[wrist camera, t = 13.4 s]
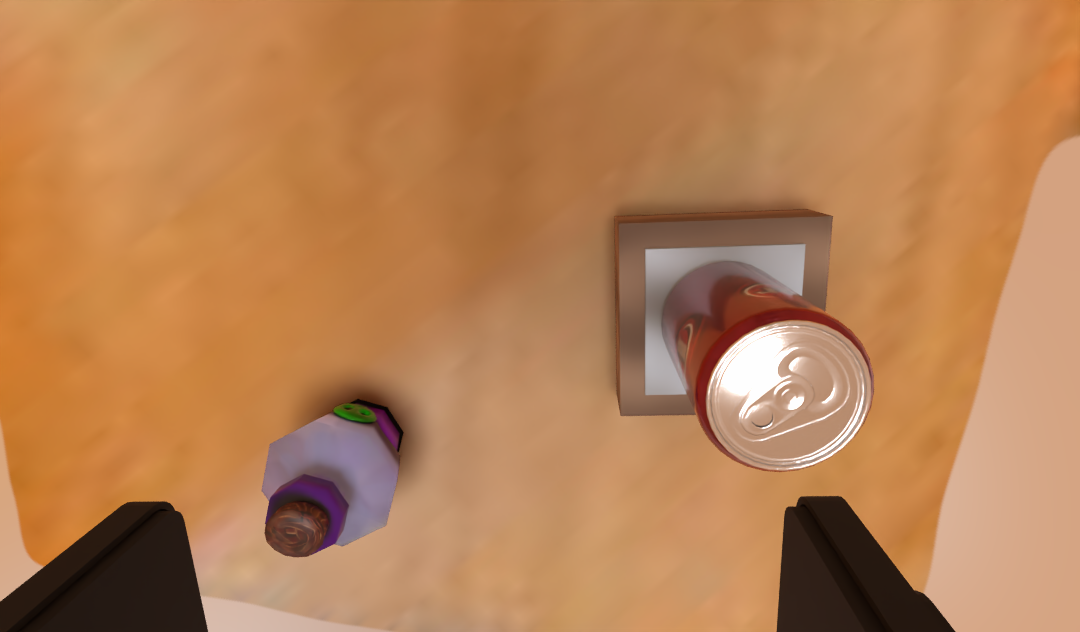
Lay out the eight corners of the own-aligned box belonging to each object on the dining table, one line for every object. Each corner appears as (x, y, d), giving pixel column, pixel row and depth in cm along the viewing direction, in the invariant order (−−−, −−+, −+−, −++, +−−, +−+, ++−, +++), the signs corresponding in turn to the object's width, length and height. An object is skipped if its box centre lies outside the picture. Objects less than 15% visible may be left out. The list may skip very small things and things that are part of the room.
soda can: (741, 233, 36) (820, 275, 24) (808, 332, 37) (915, 417, 25) (635, 306, 37) (662, 379, 25) (703, 399, 38) (758, 509, 27)
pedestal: (614, 216, 40) (619, 224, 36) (807, 209, 39) (834, 216, 35) (616, 391, 43) (620, 418, 39) (795, 388, 42) (819, 414, 38)
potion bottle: (413, 373, 44) (355, 455, 32) (433, 484, 46) (385, 598, 34) (294, 384, 44) (195, 469, 33) (319, 493, 46) (234, 608, 35)
